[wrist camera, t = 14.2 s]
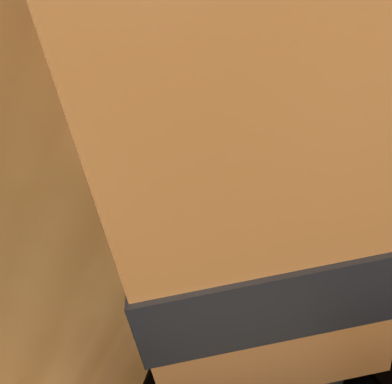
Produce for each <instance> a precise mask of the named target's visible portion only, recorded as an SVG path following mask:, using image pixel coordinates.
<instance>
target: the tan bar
mask: <svg viewBox="0 0 392 384" xmlns="http://www.w3.org/2000/svg"><path fill="white" fill-rule="evenodd" d="M26 1H27V4H28V7H29V10H30V13H31V16H32V19H33V22H34V25H35V28H36V31H37V34H38V37H39V40H40V43H41V46H42V49H43V52H44V55H45V58H46V61H47V64H48V67H49V70H50V72H51V75H52V78H53V81H54V84H55V87H56V90H57V93H58V96H59V99H60V102H61V105H62V108H63V111H64V114H65V117H66V120H67V123H68V126H69V129H70V132H71V135H72V138H73V141H74V144H75V146H76V149H77V152H78V155H79V158H80V161H81V164H82V167H83V170H84V173H85V176H86V179H87V182H88V185H89V188H90V191H91V194H92V197H93V200H94V203H95V206H96V209H97V212H98V215H99V218H100V220H101V223H102V226H103V229H104V232H105V235H106V238H107V241H108V244H109V247H110V250H111V253H112V256H113V259H114V262H115V265H116V268H117V271H118V274H119V277H120V280H121V283H122V286H123V289H124V292H125V294H126V299H125V314H126V316H127V319H128V322H129V325H130V328H131V331H132V334H133V336H134V339H135V342H136V345H137V348H138V351H139V354H140V356H141V359H142V362H143V365H144V368H145V370H147V369H151V371H152V374H153V377H154V380H155V383H156V384H343V382H344V380H346V379H351V378H356V377H360V376H365V375H370V374H375V373H380V372H384V371H389V370H390V367H391V361H392V0H26Z"/></svg>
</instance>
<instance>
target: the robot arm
mask: <svg viewBox="0 0 392 384" xmlns="http://www.w3.org/2000/svg"><path fill="white" fill-rule="evenodd" d="M143 384H156V383H155V380H154V377H153V374H152V371H151V369H149V370H148V372H147V375H146V377H145V380H144V382H143ZM343 384H392V361H391V367H390V370H389V371H384V372H380V373H375V374H370V375H365V376H360V377H356V378H351V379H346V380H344V382H343Z"/></svg>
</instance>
